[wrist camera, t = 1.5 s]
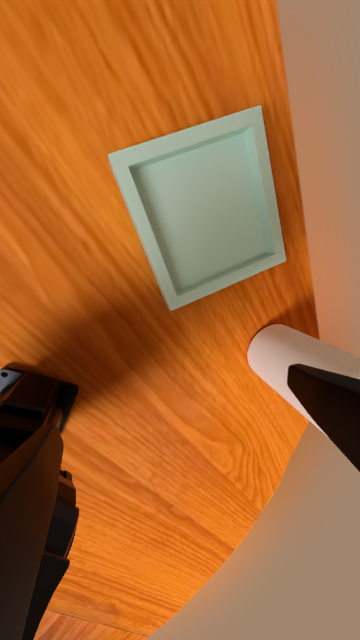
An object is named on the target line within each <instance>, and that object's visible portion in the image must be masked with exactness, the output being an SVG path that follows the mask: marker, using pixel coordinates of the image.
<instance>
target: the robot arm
mask: <svg viewBox="0 0 360 640" xmlns="http://www.w3.org/2000/svg"><path fill="white" fill-rule="evenodd" d="M3 372H6V373H7V374H8V375H5V374H4V373H3ZM287 385H288V387H289V389H290V390H291V391H292V393H293V394H294V395H295V397H296V398H297V399H298V401H299V402H300V403H301V405H302V406H303V407H304V409H305V410H306V411H307V413H308V414H309V415H310V417H311V418H312V419H313V420H314V421H315V423H316V424H317V425H318V426H319V427H320V428H321V429H322V431H323V432H324V433H325V434H326V435H327V436H328V437H329V438H330V439H331V441H333V443H334V444H335V445H336V446H337V447H338V448H339V449H340V451H341V452H342V453H343V454H344V455H345V456H346V457H347V458H348V459H349V460H350V462H351V463H352V464H353V465H354V466H355V467H356V468H357V469H358V470H359V472H360V379H357V378H353V377H349V376H345V375H341V374H338V373H334V372H330V371H326V370H322V369H319V368H315V367H311V366H307V365H303V364H299V363H297V364H293V365H290V366H289V367H288V374H287ZM71 389H74V390H75V391H74V392H73V391H71ZM78 391H79V387H78V386H77V385H74V384H71V383H67V382H63V381H59V380H57V379H55V378H51V377H47V376H43V375H39V374H36V373H32V372H25V371H21V370H17V369H13V368H9V367H4V368H2V369H1V370H0V640H33V639H34V636H35V634H36V631H37V628H38V626H39V623H40V621H41V619H42V617H43V614H44V612H45V610H46V608H47V606H48V604H49V602H50V599H51V597H52V595H53V593H54V591H55V590H56V588H57V586H58V584H59V583H60V581H61V579H62V577H63V576H64V574H65V572H66V571H67V569H68V567H69V564H70V560H69V559H67V556H68V553H69V551H70V548H71V546H72V543H73V539H74V536H75V531H76V526H77V522H78V517H79V508H78V507H76V506H75V505H76V489H75V487H74V485H73V483H72V475H71V473H69V472H67V471H62V470H60V468H61V461H62V455H63V440H62V438H61V435H60V432H61V429H62V427H63V425H64V423H65V420H66V418H67V416H68V414H69V412H70V409H71V407H72V405H73V403H74V401H75V398H76V396H77V394H78Z"/></svg>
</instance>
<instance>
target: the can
mask: <svg viewBox="0 0 360 640" xmlns="http://www.w3.org/2000/svg"><path fill="white" fill-rule="evenodd" d="M247 357H248V363H249V365H250V367H251V369H252V370H253V371H254V372H255V373H256V374H257V375H258V376H260V377H261V378H262V379H263V380H264V381H265V382H266V383H267V384H268V385H270V386H271V387H272V388H273V389H274V390H275V391H276V392H277V393H279V394H280V395H281V396H282V397H283V398H284V399H285V400H286V401H288V402H289V403H290V404H291V405H292V406H293V407H294V408H295V409H297V410H298V411H299V412H300V413H301V414H302V415H303V416H304V417H306V418H307V419H308V420H309V421H310V422H311V423H312V424H314V425H315V426H316V427H317V428H318V429H319V430H320V431H322V429H321V428H320V427H319V426H318V425H317V424H316V423H315V421H314V420H313V419H312V418H311V417H310V415H309V414H308V413H307V411H306V410H305V409H304V407H303V406H302V405H301V403H300V402H299V401H298V399H297V398H296V397H295V395H294V394H293V393H292V391H291V390H290V389H289V387H288V385H287V374H288V367H289V366H290V365H293V364H297V363H299V364H303V365H307V366H311V367H315V368H319V369H322V370H326V371H330V372H334V373H338V374H341V375H345V376H349V377H353V378H357V379H360V358H359V357H357V356H355V355H352V354H350V353H348V352H346V351H343V350H341V349H339V348H336V347H334V346H332V345H330V344H327V343H325V342H323V341H320V340H318V339H316V338H314V337H311V336H309V335H307V334H304V333H302V332H300V331H297V330H295V329H293V328H290V327H288V326H285V325H282V324H274V325H270V326H267V327H265V328H264V329H262V330H261V331H259V332H258V333H257V334H256V335H255V336H254V338H253V339H252V341H251V343H250V345H249V348H248V355H247ZM322 432H323V431H322ZM323 433H324V432H323ZM324 434H325V433H324ZM325 435H326V434H325ZM326 436H327V435H326Z"/></svg>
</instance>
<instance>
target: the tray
mask: <svg viewBox="0 0 360 640" xmlns="http://www.w3.org/2000/svg"><path fill="white" fill-rule="evenodd" d="M108 158H109V165H110V167H111V170H112V172H113V175H114V177H115V180H116V182H117V185H118V187H119V190H120V192H121V195H122V197H123V200H124V202H125V205H126V207H127V210H128V212H129V215H130V217H131V219H132V222H133V224H134V227H135V229H136V232H137V234H138V237H139V239H140V242H141V244H142V247H143V249H144V252H145V254H146V257H147V259H148V262H149V264H150V267H151V269H152V272H153V274H154V276H155V279H156V281H157V284H158V286H159V289H160V291H161V294H162V296H163V299H164V301H165V304H166V306H167V308H168V309H169V310H170V311H173V310H175V309H177V308H180V307H182V306H184V305H187V304H189V303H191V302H193V301H196V300H198V299H200V298H203V297H205V296H207V295H209V294H212V293H214V292H216V291H219V290H221V289H223V288H225V287H228V286H230V285H232V284H235V283H237V282H239V281H241V280H244V279H246V278H248V277H251V276H253V275H255V274H257V273H260V272H262V271H264V270H267V269H269V268H271V267H273V266H276V265H278V264H280V263H283V262H285V261H286V256H285V249H284V243H283V237H282V231H281V225H280V219H279V213H278V207H277V200H276V194H275V188H274V182H273V176H272V170H271V164H270V157H269V151H268V145H267V139H266V133H265V127H264V121H263V115H262V108H261V105H258V106H255V107H252V108H249V109H246V110H243V111H240V112H237V113H233V114H230V115H227V116H224V117H221V118H218V119H215V120H212V121H209V122H206V123H203V124H200V125H197V126H193V127H190V128H187V129H184V130H181V131H178V132H175V133H172V134H169V135H166V136H163V137H160V138H156V139H153V140H150V141H147V142H144V143H141V144H138V145H135V146H132V147H129V148H126V149H123V150H119V151H116V152H113V153H110V154H108Z"/></svg>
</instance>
